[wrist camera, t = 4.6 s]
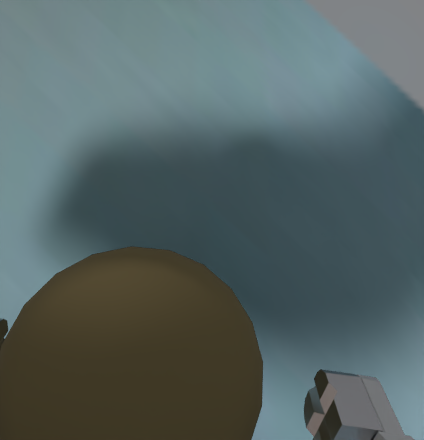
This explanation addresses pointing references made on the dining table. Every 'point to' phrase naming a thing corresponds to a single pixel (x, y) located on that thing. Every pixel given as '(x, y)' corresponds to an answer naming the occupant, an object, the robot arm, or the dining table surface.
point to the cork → (131, 354)
